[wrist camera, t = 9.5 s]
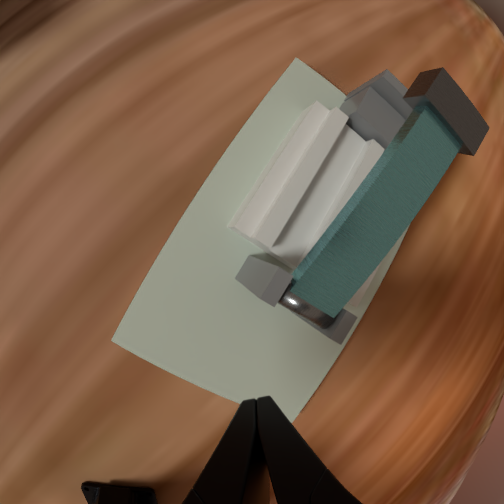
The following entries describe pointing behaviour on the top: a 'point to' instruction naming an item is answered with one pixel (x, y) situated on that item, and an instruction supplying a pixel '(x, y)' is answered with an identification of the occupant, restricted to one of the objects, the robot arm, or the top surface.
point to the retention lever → (386, 198)
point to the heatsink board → (265, 244)
